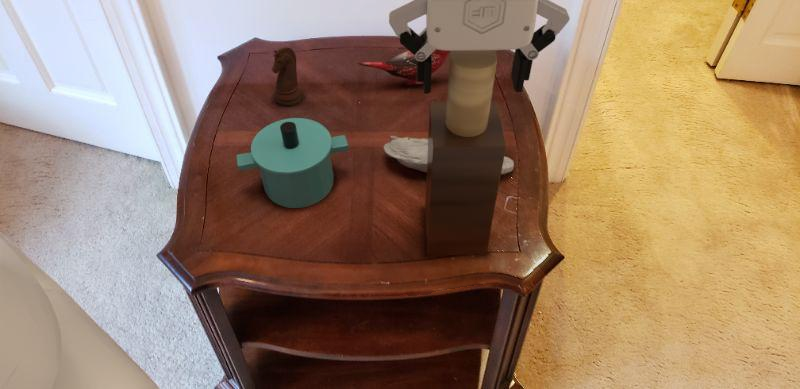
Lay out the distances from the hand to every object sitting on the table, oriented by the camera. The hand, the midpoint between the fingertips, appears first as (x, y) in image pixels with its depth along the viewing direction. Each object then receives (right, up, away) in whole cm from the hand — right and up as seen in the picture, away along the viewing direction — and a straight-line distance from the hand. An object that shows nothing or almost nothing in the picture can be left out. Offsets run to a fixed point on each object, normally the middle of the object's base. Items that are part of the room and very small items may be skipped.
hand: (471, 84), depth 59 cm
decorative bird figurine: (-6, +8, +42) cm, 43 cm away
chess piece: (-27, +5, +39) cm, 48 cm away
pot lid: (-23, -5, +20) cm, 31 cm away
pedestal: (0, -17, +19) cm, 25 cm away
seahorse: (0, -8, +27) cm, 28 cm away
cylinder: (0, -4, +4) cm, 5 cm away
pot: (-23, -10, +25) cm, 36 cm away
